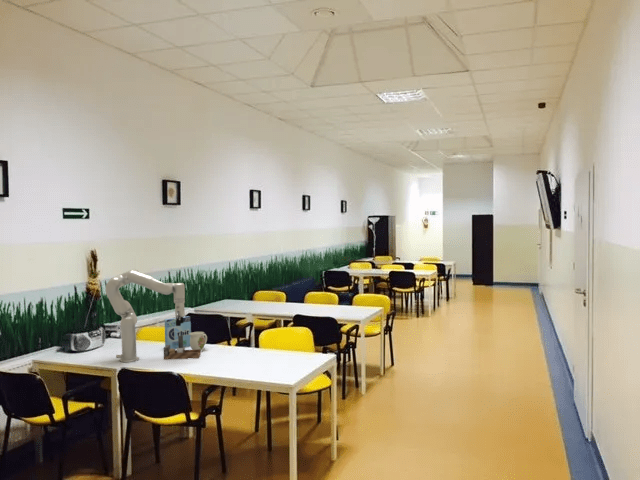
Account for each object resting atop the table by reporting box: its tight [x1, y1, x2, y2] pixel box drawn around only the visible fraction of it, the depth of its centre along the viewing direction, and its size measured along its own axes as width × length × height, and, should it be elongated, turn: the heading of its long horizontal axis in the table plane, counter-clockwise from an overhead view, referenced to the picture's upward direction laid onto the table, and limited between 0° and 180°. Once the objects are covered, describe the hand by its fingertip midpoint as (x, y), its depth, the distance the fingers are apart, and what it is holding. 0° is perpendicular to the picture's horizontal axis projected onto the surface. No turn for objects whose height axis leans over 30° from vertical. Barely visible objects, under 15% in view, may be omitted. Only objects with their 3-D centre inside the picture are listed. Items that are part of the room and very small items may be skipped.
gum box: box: [164, 315, 192, 350], centre depth 420 cm, size 20×5×23 cm, turn 127°
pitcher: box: [189, 331, 208, 352], centre depth 410 cm, size 11×18×14 cm, turn 149°
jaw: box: [176, 335, 186, 353], centre depth 390 cm, size 4×7×13 cm, turn 3°
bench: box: [163, 345, 202, 360], centre depth 390 cm, size 24×10×8 cm, turn 93°
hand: (179, 324), depth 389 cm, fingers open, 9 cm apart
